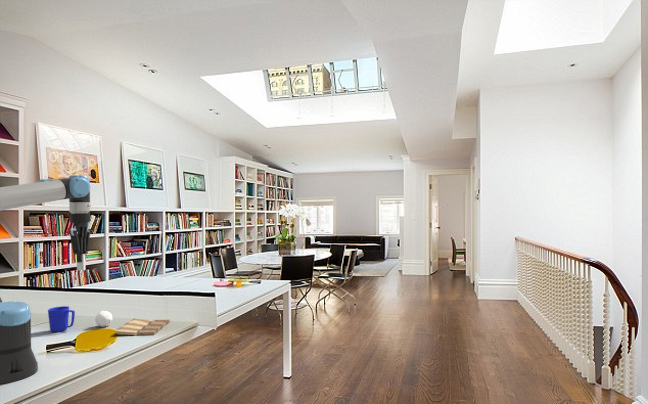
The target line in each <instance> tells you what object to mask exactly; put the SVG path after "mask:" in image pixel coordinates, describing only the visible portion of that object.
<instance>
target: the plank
mask: <svg viewBox="0 0 648 404" xmlns="http://www.w3.org/2000/svg"><path fill="white" fill-rule="evenodd" d="M153 321H154V319H144V318H132V319H131V320H130V321H128V322H126V323H125V324H123V325H122V326H119V327H118V328H116V329H115V330H114V331H116V332H117V334H116V335H125V336H126V335H128V336H137V334H138V332H140V331H141V330H142V329H144V328H145V327H146V326H148V325H149V324H151V323H152V322H153Z"/></svg>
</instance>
